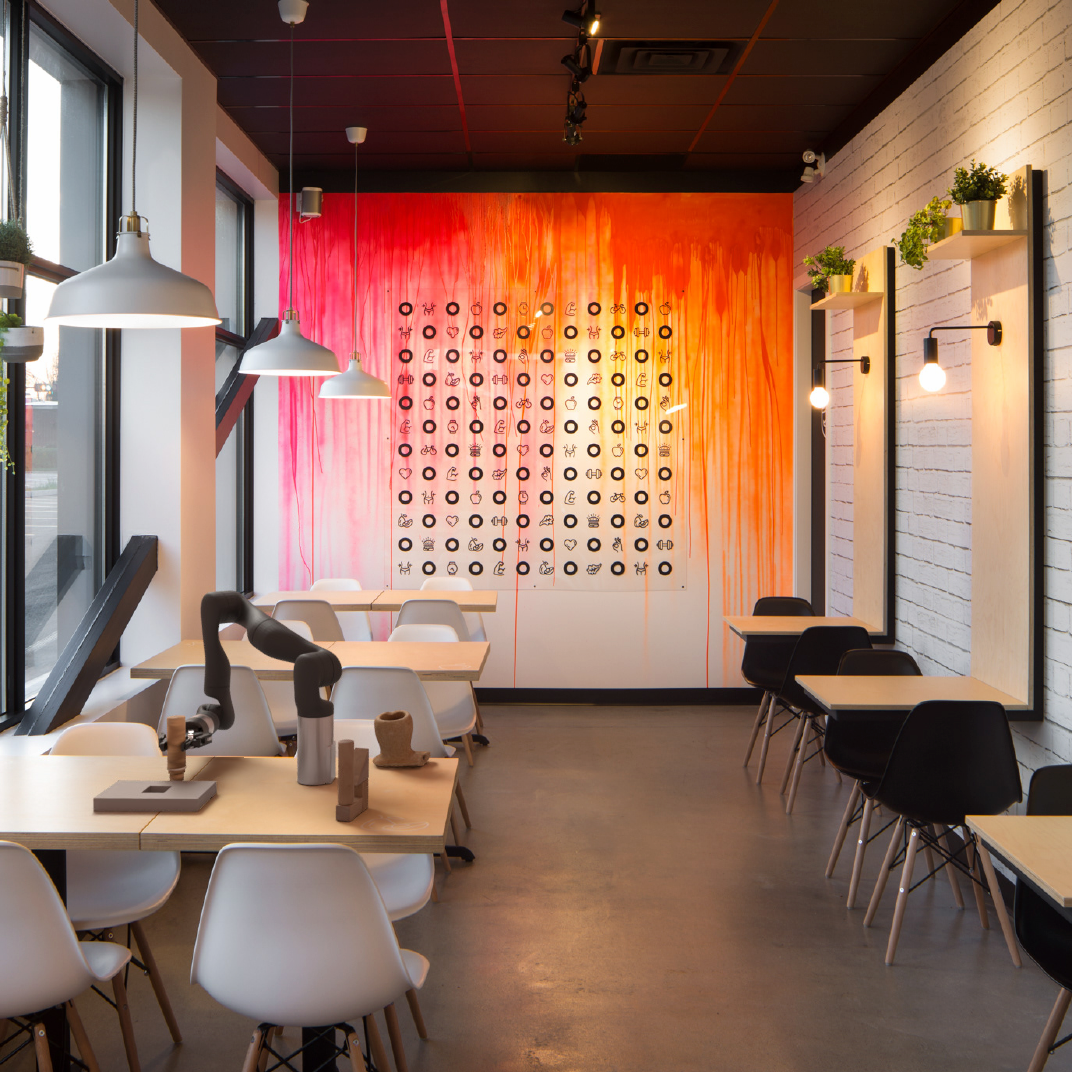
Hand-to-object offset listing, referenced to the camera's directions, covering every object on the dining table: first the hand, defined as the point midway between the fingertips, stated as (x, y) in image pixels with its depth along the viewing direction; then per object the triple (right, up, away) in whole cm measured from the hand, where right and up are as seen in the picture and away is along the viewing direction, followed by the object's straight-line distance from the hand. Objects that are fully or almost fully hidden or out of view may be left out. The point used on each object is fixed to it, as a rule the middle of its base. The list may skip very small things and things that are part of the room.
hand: (172, 747), depth 241 cm
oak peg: (0, -9, +3) cm, 9 cm away
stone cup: (+53, -10, +23) cm, 59 cm away
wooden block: (+48, -12, -17) cm, 52 cm away
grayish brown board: (0, -11, -10) cm, 15 cm away
